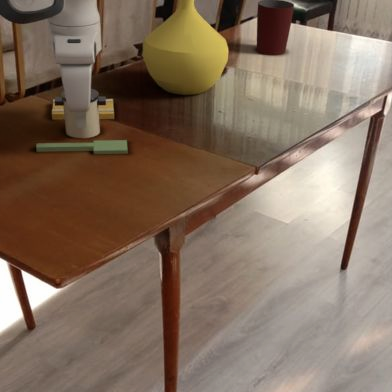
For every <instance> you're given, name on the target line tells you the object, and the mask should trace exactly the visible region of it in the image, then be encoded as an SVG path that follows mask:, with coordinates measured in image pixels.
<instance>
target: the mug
mask: <svg viewBox="0 0 392 392" xmlns="http://www.w3.org/2000/svg"><path fill="white" fill-rule="evenodd" d="M294 9H295V4H294V3H293V2H290V1H287V0H260V1H258V2H257V13H256V52H257V53H260V54H262V55H266V56H281V55H284V54H285V53H286V51H287V45H288V41H289V36H290V31H291V26H292V22H293V21H292V20H293V15H294Z"/></svg>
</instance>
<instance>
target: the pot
mask: <svg viewBox="0 0 392 392" xmlns="http://www.w3.org/2000/svg"><path fill="white" fill-rule="evenodd" d="M54 99H55V101H54V102H55V106H63V108H64V118H65V119H64V127H65V128H64V129H65V134H66V135H67V136H69V137H70V138H71V137H72V138H75V139H90V138H93V137H96V136H98V135H99V134H100V133H101V124H100V123H101V122H100V119H99V106H98V105H106V99H107V97H106V96H100V93H99V92H98V91H97V89H93V88H91V99H90V109H89V111H88V112H86V121H87V126H86V128H78V127H77V124H76V117H75V113H74V112H70V111H69V109H68V106H67V103H66V98H65V93H64V90H62V91H61V93H60V96H54Z"/></svg>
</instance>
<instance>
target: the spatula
mask: <svg viewBox="0 0 392 392" xmlns="http://www.w3.org/2000/svg"><path fill="white" fill-rule="evenodd" d="M35 149H36V152H37V153H42V152H43V153H44V152H46V153H47V152H93V155H114V154H115V155H120V154H121V155H123V154H124V155H126V154H129V151H128V140H127V139H106V140H105V139H104V140H102V139H100V140H99V139H98V140H93V142H47V143H46V142H45V143H44V142H43V143H40V142H39V143H36V146H35Z"/></svg>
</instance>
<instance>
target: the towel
mask: <svg viewBox="0 0 392 392" xmlns="http://www.w3.org/2000/svg"><path fill="white" fill-rule="evenodd" d="M54 101H55V98H53V100H52V109H51V119H52V120H65V118H64V108H63V106H55V102H54ZM98 106H99V120H115V109H114V98H106V105H98Z"/></svg>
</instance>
